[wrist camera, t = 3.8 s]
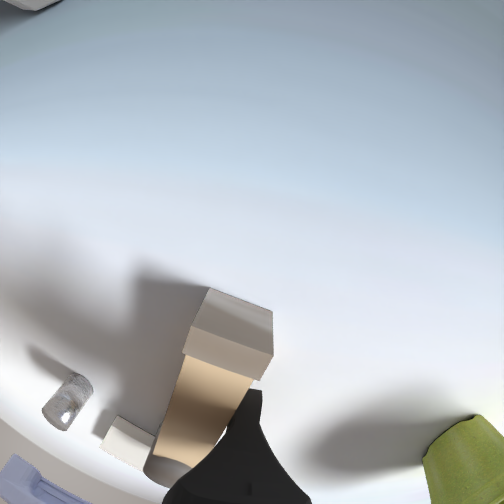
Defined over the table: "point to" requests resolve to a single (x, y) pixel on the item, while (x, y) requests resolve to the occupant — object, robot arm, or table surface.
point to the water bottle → (31, 4)
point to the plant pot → (466, 464)
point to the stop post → (67, 401)
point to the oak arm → (210, 382)
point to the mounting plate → (127, 443)
